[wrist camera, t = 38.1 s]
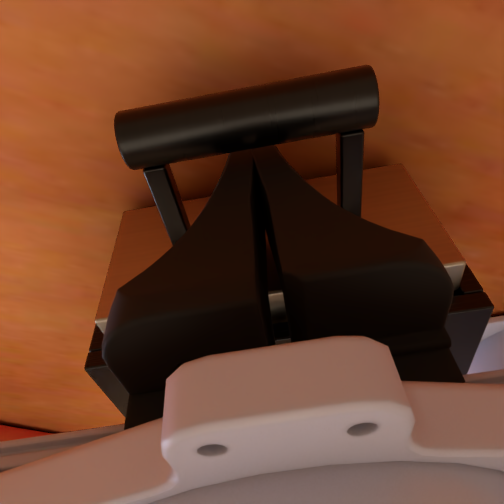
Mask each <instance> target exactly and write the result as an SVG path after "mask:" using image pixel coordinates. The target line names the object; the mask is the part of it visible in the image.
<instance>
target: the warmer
mask: <svg viewBox="0 0 504 504" xmlns="http://www.w3.org/2000/svg"><path fill="white" fill-rule="evenodd" d="M493 309H494V305H493V304H492V302H491V301H490V299H489V298H488V296H487V294H486V293H485V292H483V288H482V287H481V285H480V284H479V282H478V281H477V279H476V278H475V276H474V275H473V273H472V271H471V270H470V268H469V267H468V265H467V264H466V265H465V269H464V272H463V276H462V279H461V282H460V286H459V288H458V289H457V290H454V294H453V300H452V303H451V306H450V310H449V313H448V316H447V319H446V323H445V326H444V327H445V329H446V331H447V333H448V335H449V337H450V339H451V342H452V345H451V347H450V348H449V349H450V351H451V353H452V355H453V357H454V359H455V361H456V363H457V365H458V367H459V369H460V371H461V373H462V375H466V374H467V373H468V371H469V368H470V366H471V363H472V361H473V358H474V356H475V353H476V351H477V349H478V346H479V344H480V341H481V339H482V336H483V334H484V331H485V329H486V326H487V324H488V322H489V319H490V317H491V314H492V312H493ZM273 330H274V337H275V344H276V345H279V344H286V343H291V338H290V332H289V327H288V322H282V323H276V324H273ZM103 337H104V334H103V332H102V331H101V329H100V328H99V327H98V325H97V324H96V325H95V329H94V333H93V337H92V341H91V344H90V348H89V353H88V356H87V360H86V363H85V367H84V368H85V371H86V372H87V373H88V374H89V375H90V377H91V378H92V379H93V380H94V381H95V382H96V384H97V385H98V386H99V387H100V388H101V389H102V391H103V392H104V393H105V394H106V395H107V396H108V398H109V399H110V400H111V401H112V402H113V403H114V405H115V406H116V407H117V408H118V409H119V411H120V412H121V413H122V414H123V415H124V416H125V418H126V412H127V406H128V399H129V393H128V392H127V391H126V389H125V388H124V387H123V386H122V384H121V383H120V382H119V381H118V379H117V378H116V377H115V375H114V374H113V373H112V372H111V370H110V369H109V368H108V366H107V365H106V363H105V361H104V359H103V357H102V342H103Z"/></svg>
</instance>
